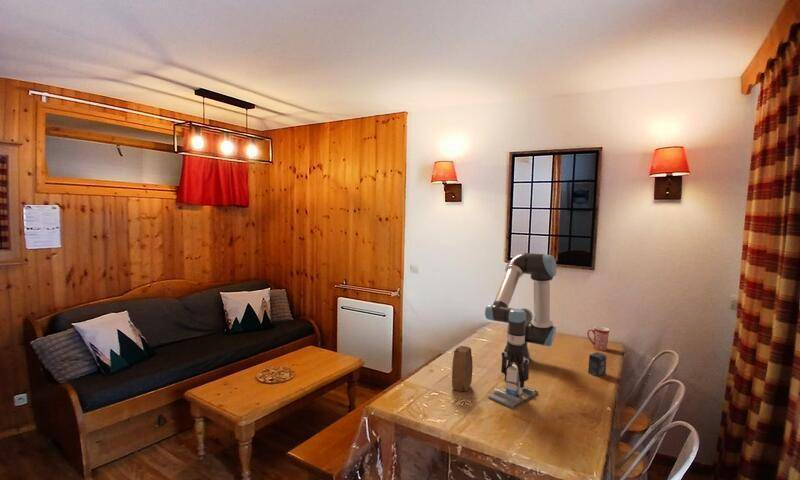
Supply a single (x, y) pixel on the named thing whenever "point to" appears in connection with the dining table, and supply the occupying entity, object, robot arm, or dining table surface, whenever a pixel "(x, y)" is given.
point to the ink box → (512, 380)
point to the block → (462, 368)
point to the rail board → (512, 397)
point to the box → (597, 364)
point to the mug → (600, 338)
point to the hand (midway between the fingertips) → (513, 391)
